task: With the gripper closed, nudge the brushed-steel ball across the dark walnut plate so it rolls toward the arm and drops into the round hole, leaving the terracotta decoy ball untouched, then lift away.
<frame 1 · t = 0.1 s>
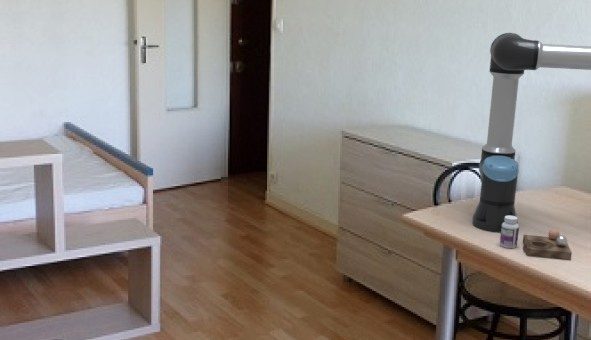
ball: (561, 241, 236), point 4 cm above the table, touching deck
pill bottle: (508, 246, 243), on the table
deck: (545, 250, 239), on the table
decoy: (553, 234, 242), point 4 cm above the table, touching deck
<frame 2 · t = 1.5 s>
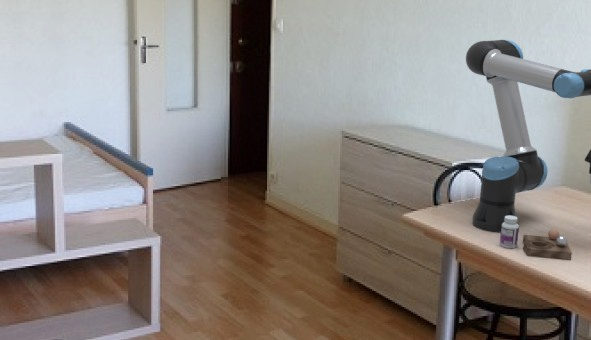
nothing on the table moved.
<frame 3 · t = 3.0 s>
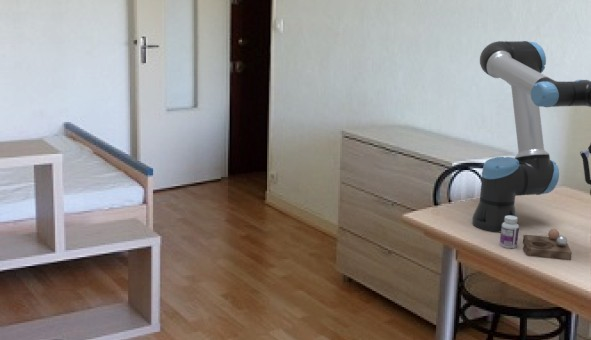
nothing on the table moved.
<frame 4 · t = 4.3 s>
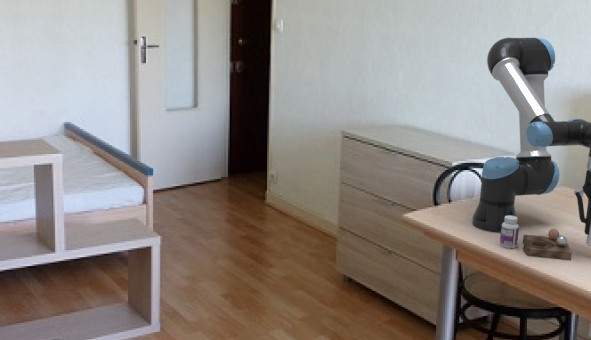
hand: (589, 244, 235), 4 cm above the table, fingers closed
nothing on the table moved.
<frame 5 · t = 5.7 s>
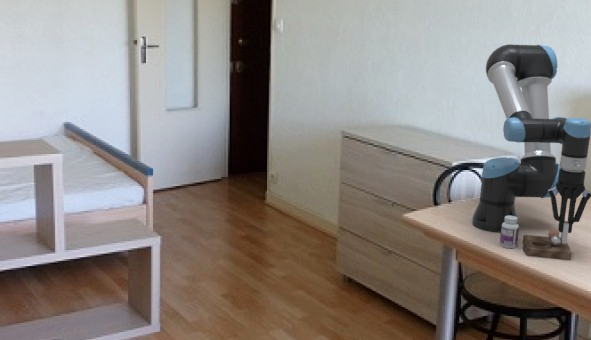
hand: (563, 242, 236), 4 cm above the table, fingers closed
ball: (555, 240, 236), point 4 cm above the table, tilted 55°, touching deck, gripper
everything else where it was.
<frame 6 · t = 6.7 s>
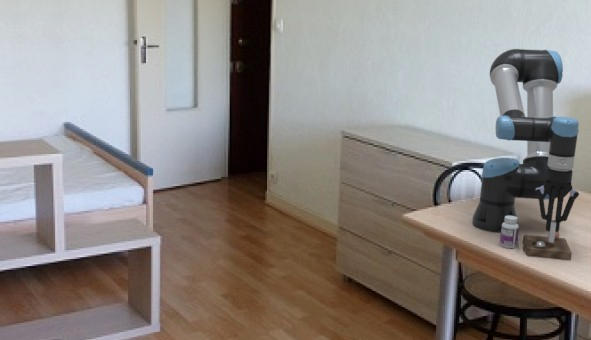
hand: (550, 240, 237), 4 cm above the table, fingers closed
ball: (540, 246, 238), point 2 cm above the table, tilted 144°
everything else where it was.
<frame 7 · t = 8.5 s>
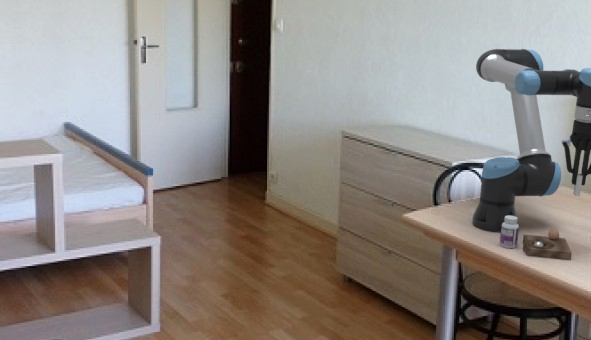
hand: (576, 194, 234), 19 cm above the table, fingers closed
ball: (538, 246, 238), point 2 cm above the table, tilted 125°
everything else where it was.
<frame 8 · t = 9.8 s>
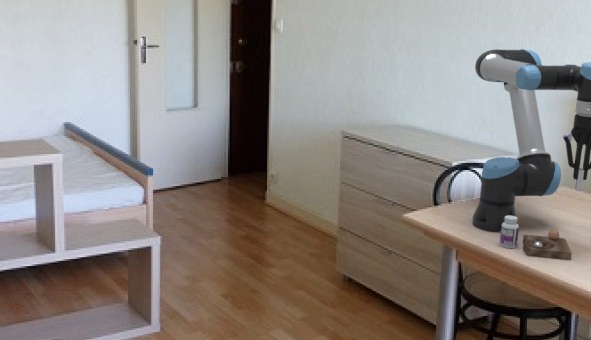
hand: (578, 189, 234), 20 cm above the table, fingers closed
ball: (537, 246, 238), point 2 cm above the table, tilted 117°
everything else where it was.
at the end: ball 0.5 cm from the target spot in the deck, point 1.7 cm above the deck's base; decoy moved 0.0 cm from its start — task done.
